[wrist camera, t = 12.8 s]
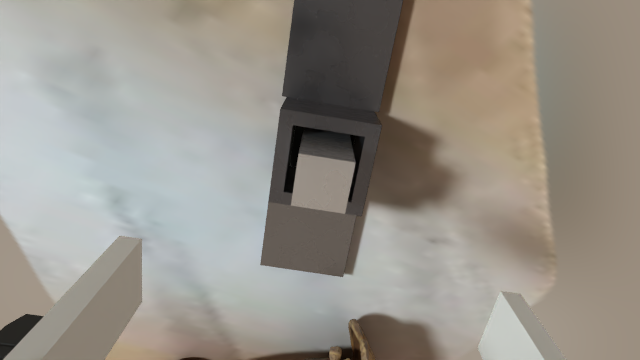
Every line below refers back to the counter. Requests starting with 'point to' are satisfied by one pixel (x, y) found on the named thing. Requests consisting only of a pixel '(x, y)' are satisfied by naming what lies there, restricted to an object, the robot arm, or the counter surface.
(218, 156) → the counter surface
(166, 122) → the counter surface
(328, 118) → the square socket bracket
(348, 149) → the beige rectangular block
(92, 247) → the counter surface
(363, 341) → the sword hilt
